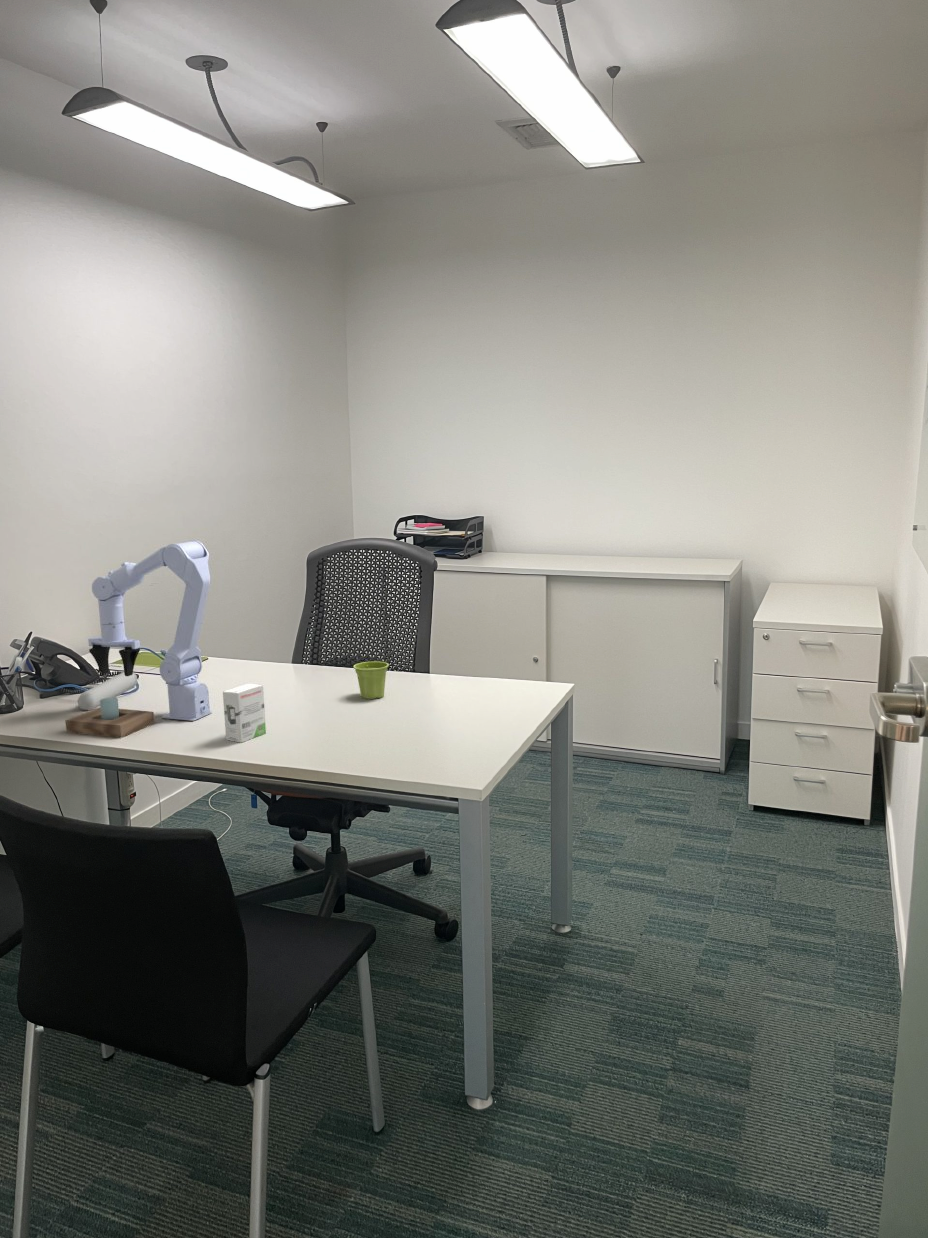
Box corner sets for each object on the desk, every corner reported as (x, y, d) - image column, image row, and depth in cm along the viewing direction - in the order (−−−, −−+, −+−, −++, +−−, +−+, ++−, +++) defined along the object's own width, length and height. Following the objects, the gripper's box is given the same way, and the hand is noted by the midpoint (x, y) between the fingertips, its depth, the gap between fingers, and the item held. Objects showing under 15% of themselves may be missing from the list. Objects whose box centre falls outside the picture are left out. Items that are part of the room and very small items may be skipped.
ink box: (251, 730, 219) (248, 682, 217) (267, 733, 217) (264, 684, 214) (225, 740, 212) (221, 690, 210) (240, 743, 209) (237, 693, 207)
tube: (94, 697, 237) (139, 674, 262) (75, 691, 238) (121, 668, 262) (90, 716, 239) (135, 691, 263) (71, 710, 239) (117, 685, 263)
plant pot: (349, 700, 244) (348, 668, 243) (361, 691, 253) (360, 660, 252) (383, 701, 242) (382, 669, 241) (394, 692, 251) (393, 661, 250)
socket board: (154, 723, 226) (153, 711, 226) (121, 737, 215) (120, 725, 215) (101, 718, 232) (100, 707, 231) (66, 732, 220) (65, 720, 220)
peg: (122, 725, 226) (119, 697, 224) (117, 730, 222) (114, 701, 220) (105, 725, 225) (102, 698, 224) (100, 730, 221) (97, 702, 220)
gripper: (146, 621, 237) (150, 672, 239) (100, 618, 241) (104, 669, 244) (127, 626, 230) (132, 679, 232) (80, 623, 235) (85, 675, 237)
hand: (116, 674), depth 238 cm, fingers open, 7 cm apart
